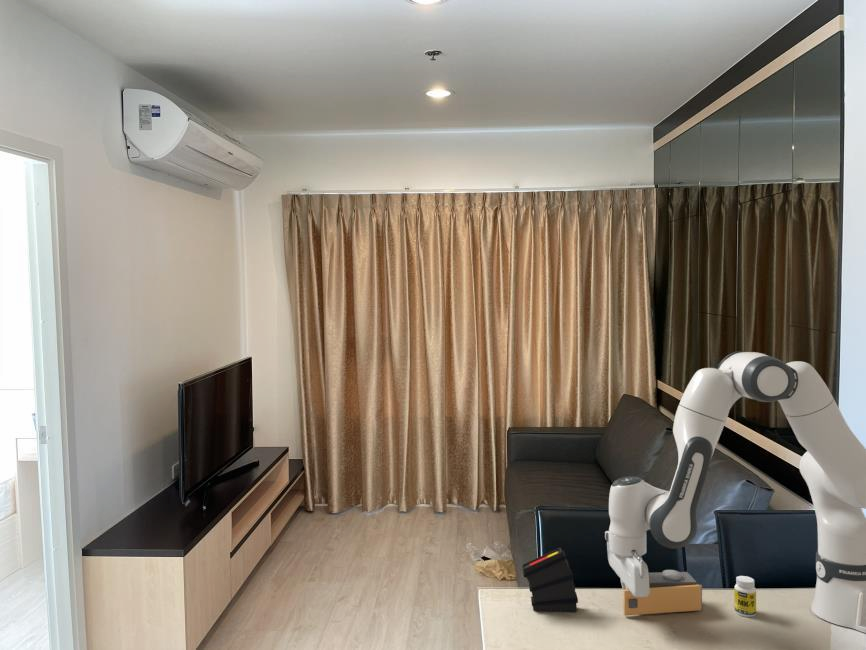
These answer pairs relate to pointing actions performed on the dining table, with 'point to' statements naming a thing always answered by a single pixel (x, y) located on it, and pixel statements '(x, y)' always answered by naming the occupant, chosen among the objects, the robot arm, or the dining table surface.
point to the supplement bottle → (745, 596)
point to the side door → (664, 600)
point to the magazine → (551, 583)
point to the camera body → (670, 579)
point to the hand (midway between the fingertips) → (628, 598)
